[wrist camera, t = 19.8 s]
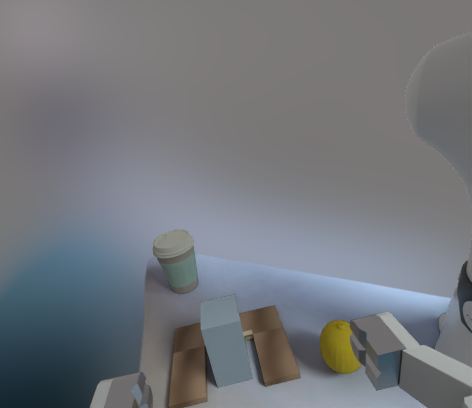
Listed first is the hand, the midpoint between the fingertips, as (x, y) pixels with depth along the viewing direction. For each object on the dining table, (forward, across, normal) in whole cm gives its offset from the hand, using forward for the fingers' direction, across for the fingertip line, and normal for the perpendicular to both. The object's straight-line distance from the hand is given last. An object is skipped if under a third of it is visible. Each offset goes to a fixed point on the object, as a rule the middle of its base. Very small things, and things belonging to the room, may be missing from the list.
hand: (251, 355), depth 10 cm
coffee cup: (+43, +11, +28) cm, 53 cm away
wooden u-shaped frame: (+24, +3, +28) cm, 37 cm away
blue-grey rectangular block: (+21, +3, +28) cm, 35 cm away
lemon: (+17, -12, +28) cm, 35 cm away
